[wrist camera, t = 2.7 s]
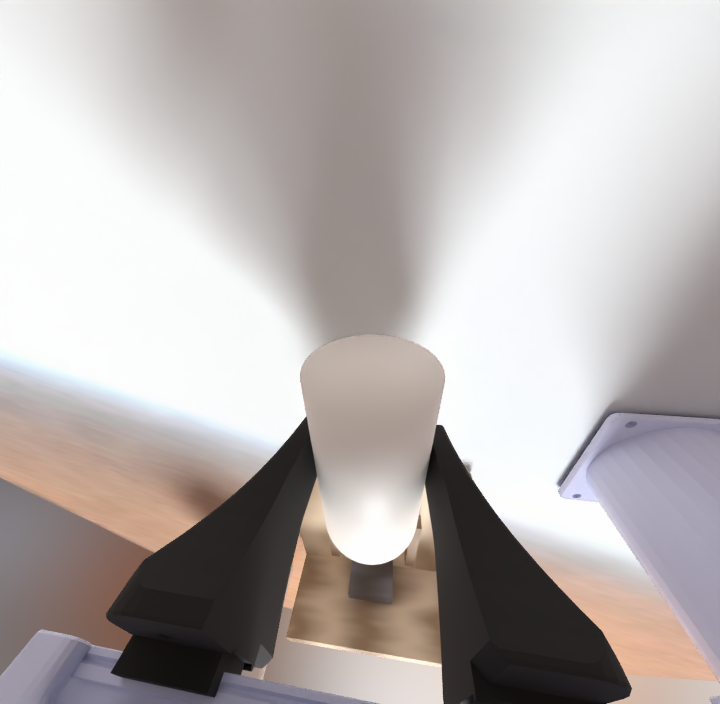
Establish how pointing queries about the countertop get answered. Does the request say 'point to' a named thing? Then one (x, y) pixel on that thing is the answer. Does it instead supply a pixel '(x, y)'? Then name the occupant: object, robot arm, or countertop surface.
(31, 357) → the countertop surface
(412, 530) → the cylinder
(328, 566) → the roll holder
